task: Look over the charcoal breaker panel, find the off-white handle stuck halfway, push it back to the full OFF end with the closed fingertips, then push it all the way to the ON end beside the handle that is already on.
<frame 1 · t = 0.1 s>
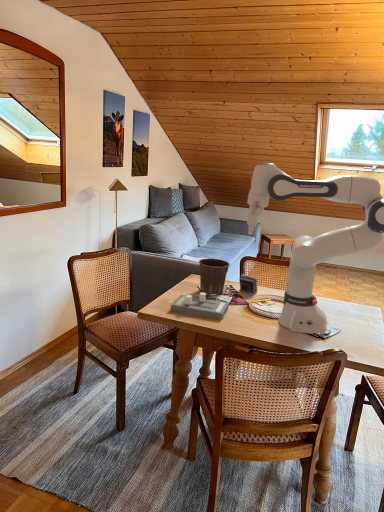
hand: (251, 232, 171), 39 cm above the table, tool pointing down, fingers open, 8 cm apart
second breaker: (188, 299, 181), point 5 cm above the table, slide at 10.0 cm
breaker panel: (200, 309, 184), on the table
electrical switch: (247, 292, 212), on the table
tripped breaker: (202, 297, 185), point 5 cm above the table, slide at 5.0 cm
plant pot: (211, 291, 209), on the table
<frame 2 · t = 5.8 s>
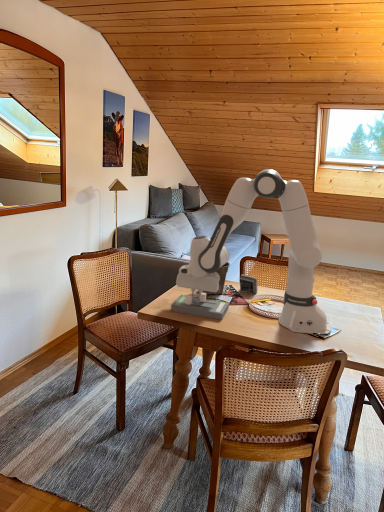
hand: (196, 297, 186), 4 cm above the table, tool pointing down, fingers closed
tripped breaker: (203, 297, 185), point 5 cm above the table, slide at 4.8 cm, touching gripper
everything else where it was.
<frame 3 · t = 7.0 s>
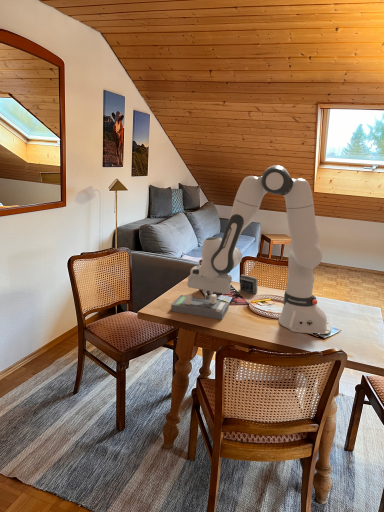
hand: (207, 299, 184), 5 cm above the table, tool pointing down, fingers closed
tripped breaker: (213, 299, 184), point 5 cm above the table, slide at -0.2 cm, touching gripper
everything else where it was.
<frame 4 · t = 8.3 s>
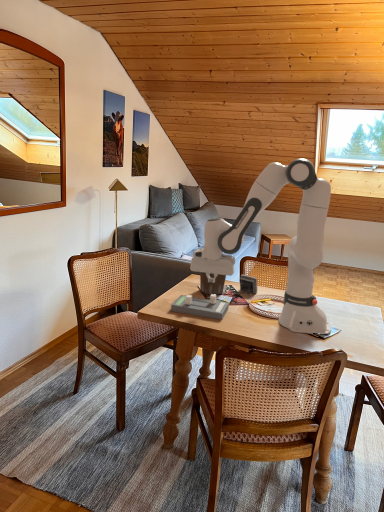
hand: (211, 282, 182), 13 cm above the table, tool pointing down, fingers closed
tripped breaker: (213, 299, 184), point 5 cm above the table, slide at -0.1 cm
everything else where it was.
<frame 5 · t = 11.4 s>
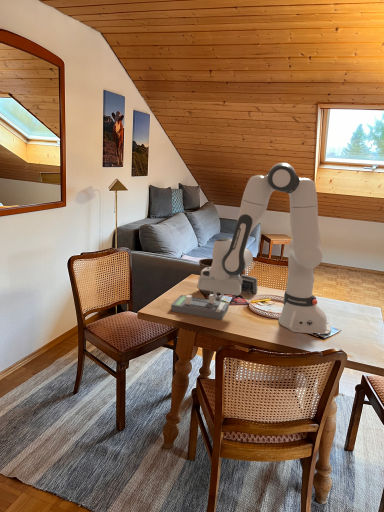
hand: (218, 300, 183), 5 cm above the table, tool pointing down, fingers closed
tripped breaker: (212, 298, 184), point 5 cm above the table, slide at 0.4 cm, touching gripper
everything else where it was.
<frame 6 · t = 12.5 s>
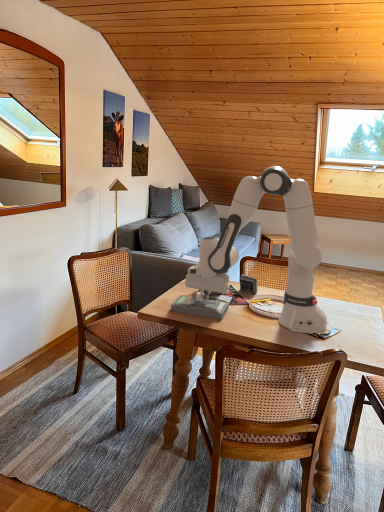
hand: (205, 298, 185), 5 cm above the table, tool pointing down, fingers closed
tripped breaker: (199, 296, 185), point 5 cm above the table, slide at 6.6 cm, touching gripper
everything else where it was.
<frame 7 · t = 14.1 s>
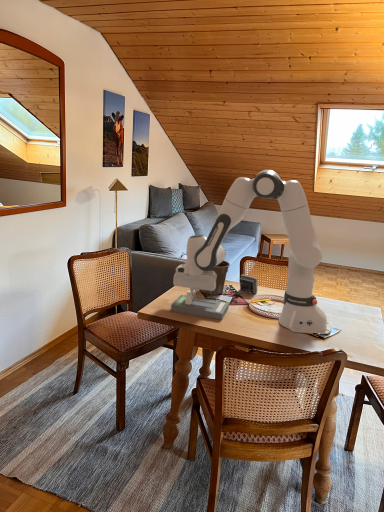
hand: (193, 296, 186), 5 cm above the table, tool pointing down, fingers closed, pressing on tripped breaker
tripped breaker: (189, 295, 187), point 5 cm above the table, slide at 11.2 cm, touching gripper
everything else where it was.
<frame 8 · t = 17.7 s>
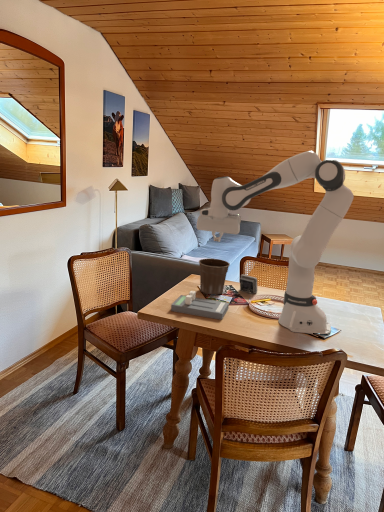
hand: (216, 241, 185), 31 cm above the table, tool pointing down, fingers closed
tripped breaker: (192, 295, 186), point 5 cm above the table, slide at 10.1 cm
everything else where it was.
at the end: tripped breaker slide at 10.1 cm; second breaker slide at 10.0 cm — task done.
